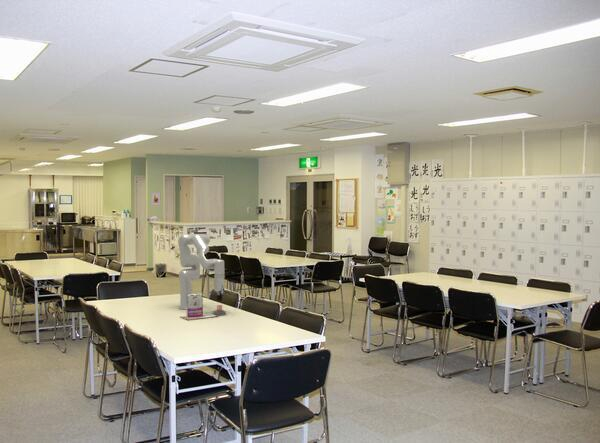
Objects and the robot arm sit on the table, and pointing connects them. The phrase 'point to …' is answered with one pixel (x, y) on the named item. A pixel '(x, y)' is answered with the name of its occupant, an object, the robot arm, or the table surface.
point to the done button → (219, 308)
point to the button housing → (219, 313)
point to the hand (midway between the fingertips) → (219, 300)
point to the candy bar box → (194, 305)
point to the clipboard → (206, 315)
